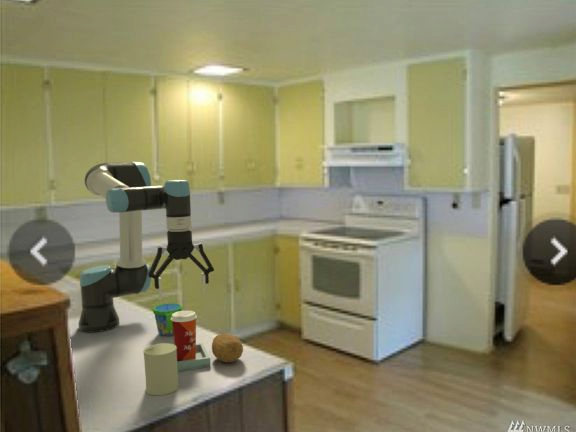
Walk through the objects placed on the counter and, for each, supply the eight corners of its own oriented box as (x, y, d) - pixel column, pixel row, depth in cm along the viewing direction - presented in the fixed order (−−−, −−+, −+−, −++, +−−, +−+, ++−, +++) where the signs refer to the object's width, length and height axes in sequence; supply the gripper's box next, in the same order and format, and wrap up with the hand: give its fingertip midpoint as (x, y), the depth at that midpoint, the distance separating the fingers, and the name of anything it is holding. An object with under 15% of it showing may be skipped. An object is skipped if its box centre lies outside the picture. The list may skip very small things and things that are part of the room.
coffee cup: (193, 364, 158) (190, 317, 157) (168, 363, 160) (165, 317, 158) (203, 354, 166) (200, 310, 165) (179, 353, 168) (177, 309, 166)
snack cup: (183, 339, 184) (181, 311, 183) (153, 341, 182) (151, 314, 181) (183, 325, 199) (182, 300, 198) (155, 328, 197) (154, 302, 196)
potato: (233, 350, 172) (232, 327, 171) (250, 364, 160) (249, 339, 159) (205, 356, 167) (204, 332, 166) (221, 371, 155) (219, 345, 154)
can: (148, 382, 149) (146, 342, 147) (180, 380, 150) (178, 340, 148) (142, 396, 140) (140, 354, 138) (176, 394, 140) (174, 352, 139)
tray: (163, 356, 168) (163, 348, 167) (203, 350, 172) (202, 342, 172) (167, 373, 155) (167, 364, 154) (210, 366, 159) (210, 357, 158)
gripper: (138, 234, 151) (142, 303, 153) (221, 228, 159) (224, 294, 161) (137, 230, 158) (141, 297, 161) (216, 225, 166) (219, 289, 168)
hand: (182, 296), depth 161 cm, fingers open, 13 cm apart
